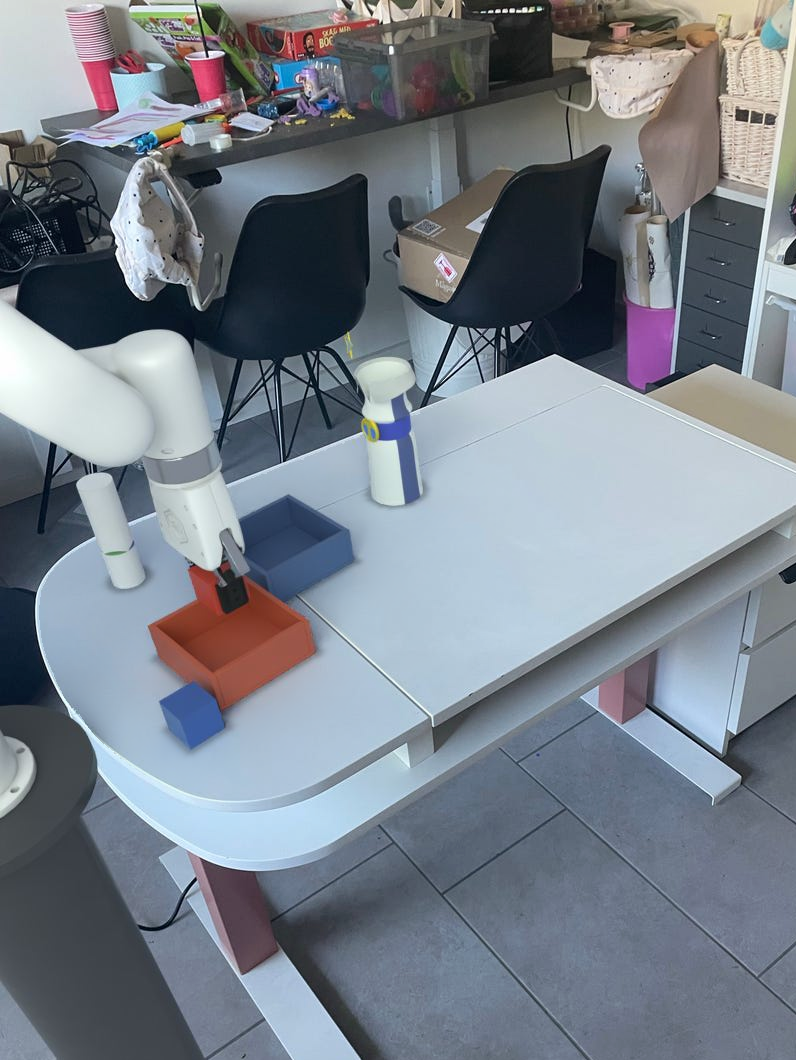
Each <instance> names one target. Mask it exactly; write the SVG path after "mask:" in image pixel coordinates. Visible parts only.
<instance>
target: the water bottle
mask: <svg viewBox="0 0 796 1060" xmlns="http://www.w3.org/2000/svg"><path fill="white" fill-rule="evenodd" d="M344 340H345V343H346V354H348V355H349V356H350V358H351V360H353V359H354V358H353V348H354V345H353V343H352V341H351V337H350V332H349V331H347V333H346V336H344ZM353 377H354V380H355V383H356V387H357V388H356V393H357V394H358V392H359V387H360V388H361V390H362V393H363V395H364V403H363V406H362V408H361V415H363V418H362V420H361V422H360V427H361V431H362V433H363V435H364V437H365V447H366V453H367V454H366V455H367V463H368V464H367V465H368V472H369V484H370V485H369V486H370V496H371V498H372V500H373V501H375V502H376V503H378V504H381V505H384V506H390V507H393V506H394V507H395V506H397V507H398V506H404V505H407V504H410V503H413V502H415V501H416V500H418V499H419V498H420V497H421V496H422V494H423V493H424V487H423V481H422V475H421V469H420V462H419V454H418V443H417V439H416V434H415V431H414V428H413V427H412V421H411V412H412V410H413V404H412V402H411V401H409V399H408V396H407V391H408V390H410V389H412V388H413V386H414V385H415V383H416V381H417V378H416V374H415V372H414V370H413V368H412V365H411V364H410V362H408V360H406V359H404V358H402V357H401V358H400V357H395V356H383V357H381V356H380V357H376V358H373V359H368V360H367V361H364V362H363V363H360V364H359V365H357V367H356V369H355V370H354V372H353ZM358 386H359V387H358Z"/></svg>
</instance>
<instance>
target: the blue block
mask: <svg viewBox="0 0 796 1060" xmlns="http://www.w3.org/2000/svg"><path fill="white" fill-rule="evenodd" d="M158 703H159V706H160V708H161V711H162V714H163V717H164V720H165V722H166V726H167V727H168V730H169V731H170V732H171V733H172V734H173V735H174V736H175V737H176V738H178V740H179V741H181V742H182V743H183V744H184V745H185V746H186V747H187V748H188V749H189V750H192V749H194V748H195V747H197V746H199V745H200V744H202V743H203V742H205V741H206V740H208V739H210V738H212V737H213V736H214V735H216V734H218V733H219V732H221V731H222V730H223V729H226V727H225V724H224V719H223V717H222V714H221V711H220V710H219V707H218V704H217V701H216V699H215V698H214V697H213V696H211V695H210V694H209V693H208V692H207V691H205V690H204V689H203V688H202V687H201V686H200V685H198V684H197V683H196V682H195V681H192V682H191V683H187V684H186V685H183V686H182V687H180V688H179V689H177V690H176V691H173V692H172V693H170V694H169V695H166V696H165V697H164V698H162V699H160V700H158Z"/></svg>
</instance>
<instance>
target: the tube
mask: <svg viewBox="0 0 796 1060" xmlns="http://www.w3.org/2000/svg"><path fill="white" fill-rule="evenodd" d="M75 486H76V489H77V492H78V494H79V497H80V499H81V502H82V505H83V508H84V510H85V513H86V516H87V518H88V521H89V523H90V526H91V529H92V532H93V534H94V537H95V540H96V542H97V545H98V547H99V550H100V553H101V555H102V558H103V561H104V563H105V566H106V569H107V572H108V574H109V577H110V579H111V582H112V586H114V587H115V588H117V589H121V590H127V589H132V588H136V587H138V586H139V585H141V584H142V583H144V581H145V580H146V577H147V575H146V571H145V569H144V566H143V563H142V560H141V557H140V554H139V551H138V549H137V546H136V543H135V540H134V537H133V534H132V531H131V528H130V526H129V523H128V519H127V516H126V514H125V511H124V507H123V505H122V502H121V498H120V497H119V493H118V490H117V488H116V484H115V481H114V479H113V476H112V475H111V474H110V473H108V472H94V473H90V474H86V475H85V476H82V477H81V478H79V479H78V480H77V482H76V485H75Z"/></svg>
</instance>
